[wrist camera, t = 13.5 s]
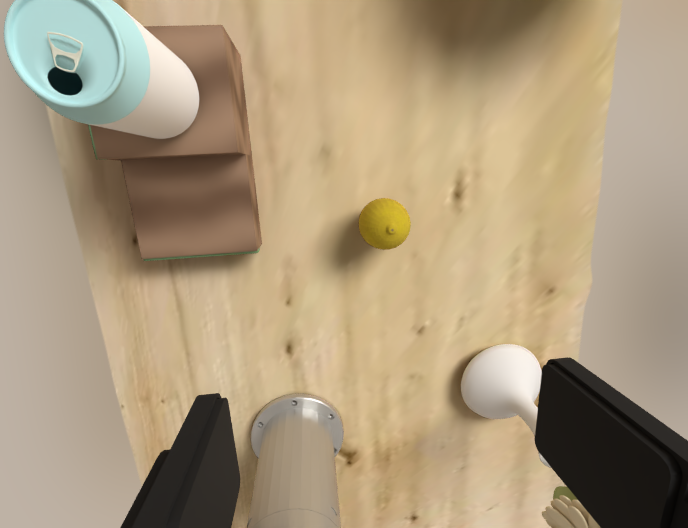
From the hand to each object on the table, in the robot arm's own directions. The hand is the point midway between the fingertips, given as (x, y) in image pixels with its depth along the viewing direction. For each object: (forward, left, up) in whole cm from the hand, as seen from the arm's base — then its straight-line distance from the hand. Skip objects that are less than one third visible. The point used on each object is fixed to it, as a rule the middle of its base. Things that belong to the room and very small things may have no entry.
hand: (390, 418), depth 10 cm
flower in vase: (-23, -22, -34) cm, 46 cm away
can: (+14, +14, -26) cm, 32 cm away
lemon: (+1, -6, -34) cm, 34 cm away
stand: (+9, +14, -33) cm, 37 cm away
